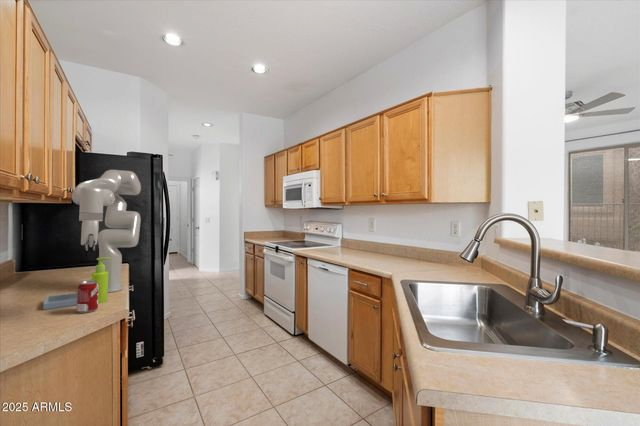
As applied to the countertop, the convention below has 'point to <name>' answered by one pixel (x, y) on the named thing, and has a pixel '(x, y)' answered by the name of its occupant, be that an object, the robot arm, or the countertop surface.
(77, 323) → the countertop surface
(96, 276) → the soap dispenser
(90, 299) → the soda can
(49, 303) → the slate tray
